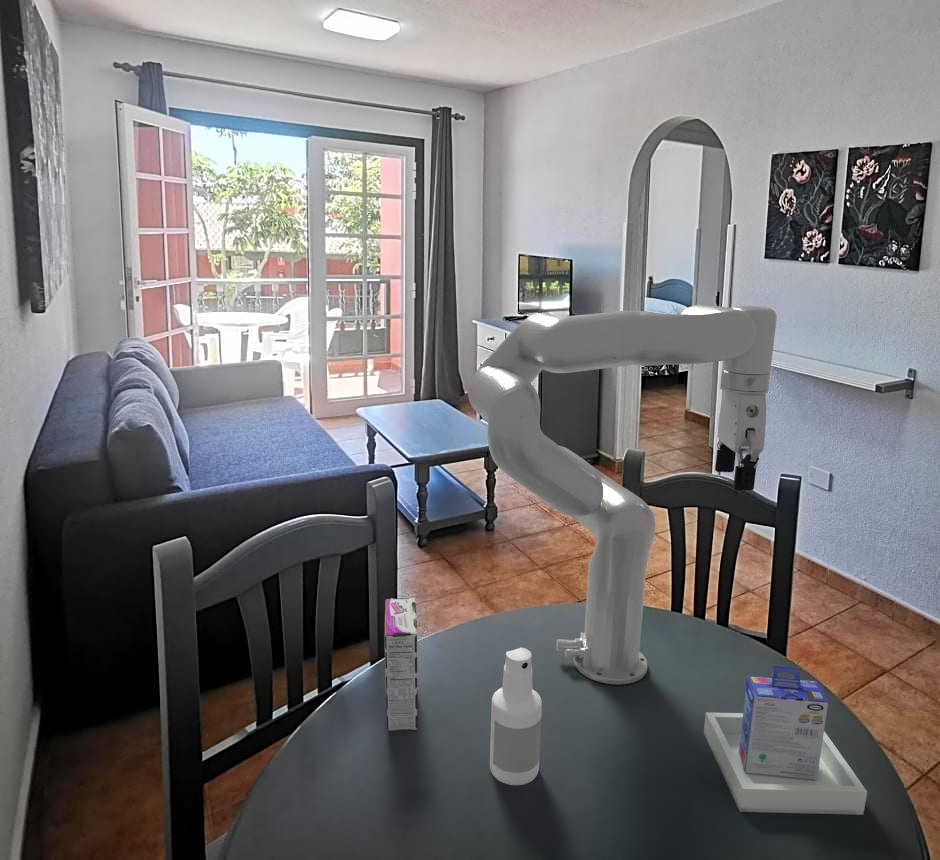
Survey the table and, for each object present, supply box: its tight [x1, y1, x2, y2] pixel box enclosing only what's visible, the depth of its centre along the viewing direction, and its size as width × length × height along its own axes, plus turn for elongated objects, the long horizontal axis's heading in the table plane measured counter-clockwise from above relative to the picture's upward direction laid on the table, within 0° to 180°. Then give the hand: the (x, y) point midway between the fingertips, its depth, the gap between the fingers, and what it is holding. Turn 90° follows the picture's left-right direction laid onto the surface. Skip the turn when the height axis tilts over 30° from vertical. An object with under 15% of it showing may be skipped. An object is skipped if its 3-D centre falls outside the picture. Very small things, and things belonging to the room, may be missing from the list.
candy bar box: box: [384, 597, 419, 732], centre depth 114 cm, size 11×5×16 cm, turn 6°
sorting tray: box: [703, 711, 868, 816], centre depth 104 cm, size 16×16×4 cm
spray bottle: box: [489, 647, 543, 786], centre depth 101 cm, size 7×7×18 cm
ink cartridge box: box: [739, 664, 829, 780], centre depth 103 cm, size 10×6×14 cm, turn 83°
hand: (733, 480), depth 127 cm, fingers open, 9 cm apart
